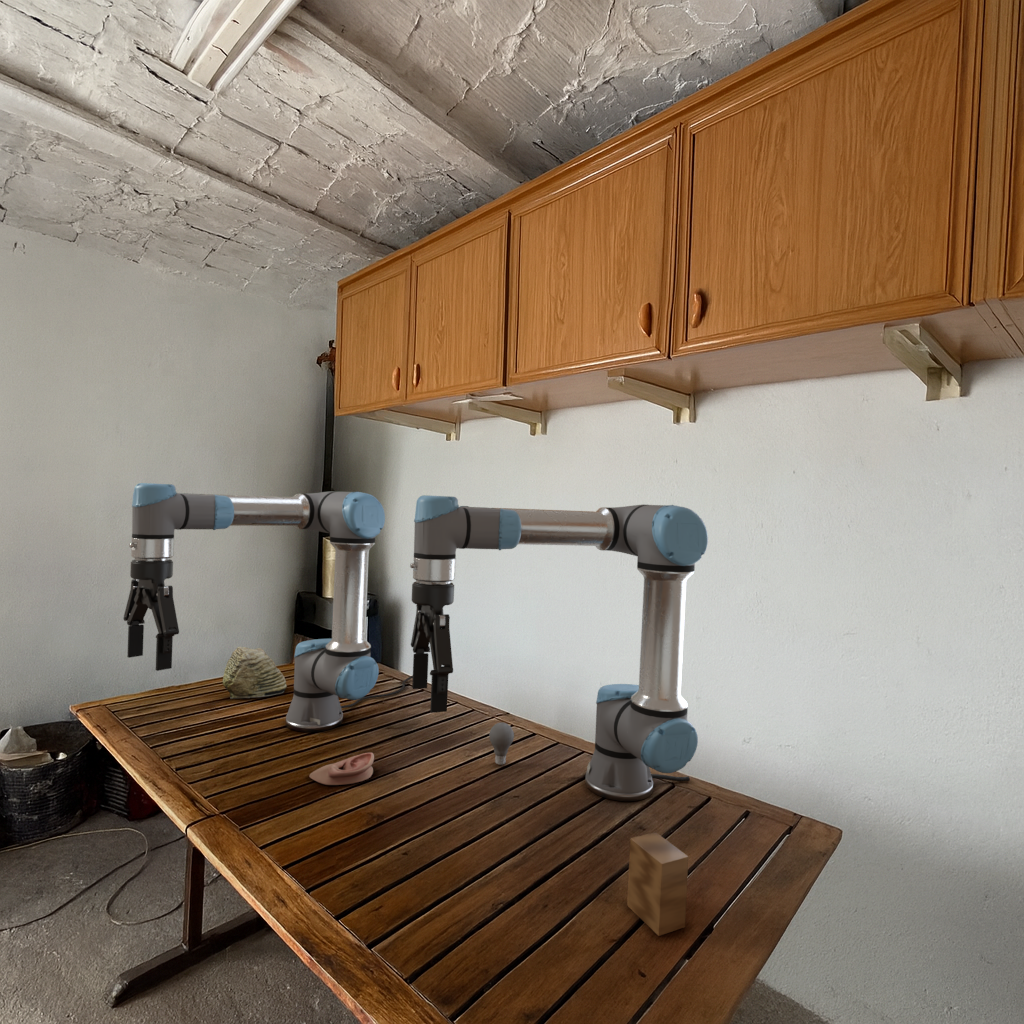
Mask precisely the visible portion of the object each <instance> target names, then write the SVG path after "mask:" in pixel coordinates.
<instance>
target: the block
mask: <svg viewBox="0 0 1024 1024" xmlns="http://www.w3.org/2000/svg"><path fill="white" fill-rule="evenodd" d="M628 859H629V860H628V879H627V898H626V899H627V900H626V906H627V907H628V908H629V909H630V910H631V911H632V912H633V913H634V914H635V915H636V916H637V917H638V918H639V919H640V920H641V921H643V922H644V924H646V926H647V927H648V928H650V930H651V931H652V932H653V933H654V934H656V935H657V936H658V937H660V936H663V935H666V934H669V933H673V932H675V931H679V930H680V929H681V930H682V929H684V928H685V927H686V915H687V914H686V913H687V895H688V874H689V873H688V872H689V855H687V854H686V853H684V852H683V851H682V850H680V849H679V848H678V847H676V846H675V845H674V844H672V843H671V842H670V841H668V840H667V839H666V838H664V837H663V836H662V835H660V834H659V833H658V832H656V831H654V832H650V833H645V834H642V835H637V836H633V837H631V838H629V858H628Z"/></svg>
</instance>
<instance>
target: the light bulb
mask: <svg viewBox="0 0 1024 1024" xmlns="http://www.w3.org/2000/svg"><path fill="white" fill-rule="evenodd" d="M488 737H489V741H490V743H491V745H492V747H493V752H494V754H495V757H494V763H495V764H497V765H499V766H503V765H505V764H506V762H507V754H508V753H509V748H510V746H511V745H512V743H513V741H514V738H515V733H514V730H513V727H512V726H511V725H510V724H508V723H506V722H496V723H495V724H494V725H493V726H492V727H491V728H490V729H489V733H488Z"/></svg>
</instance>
